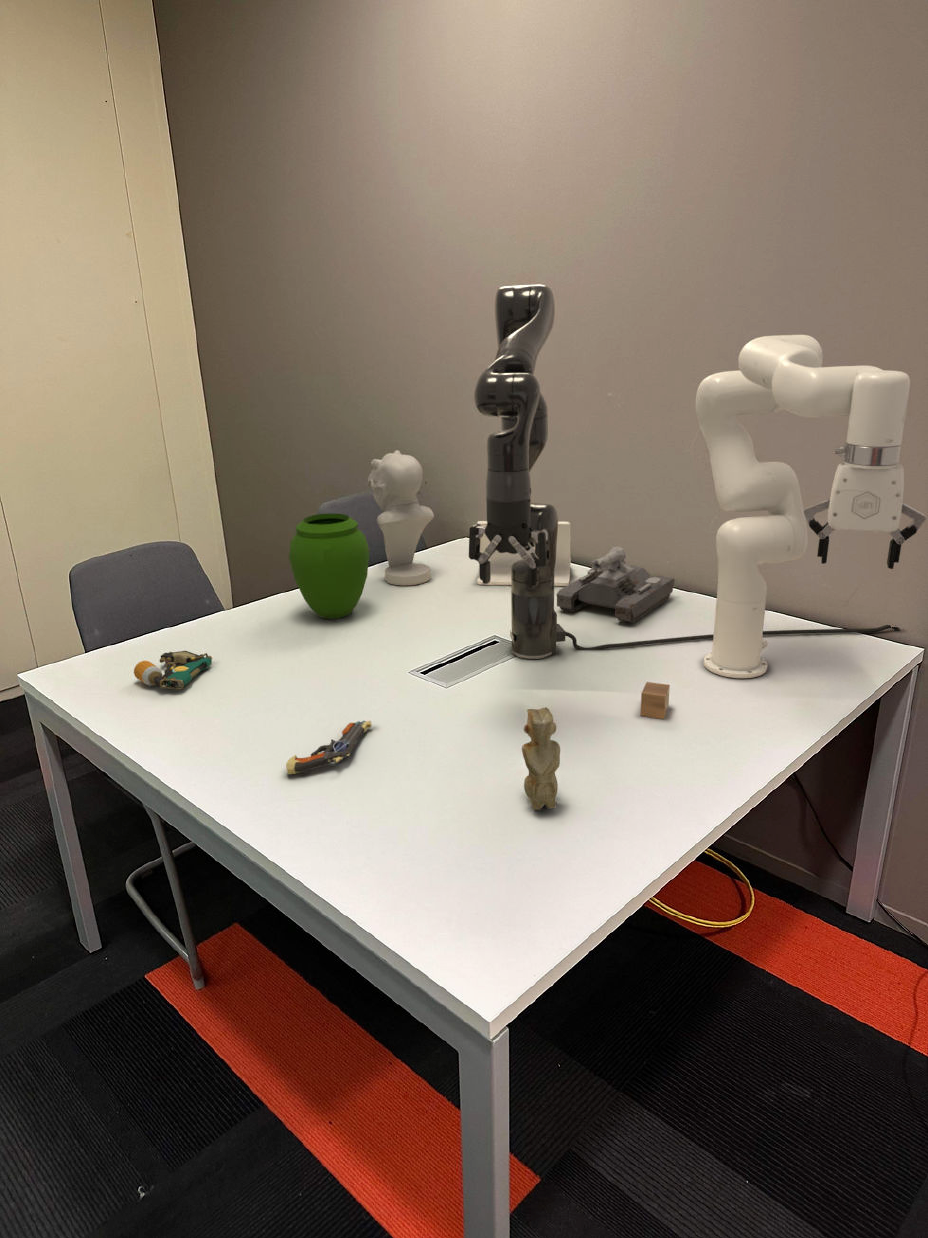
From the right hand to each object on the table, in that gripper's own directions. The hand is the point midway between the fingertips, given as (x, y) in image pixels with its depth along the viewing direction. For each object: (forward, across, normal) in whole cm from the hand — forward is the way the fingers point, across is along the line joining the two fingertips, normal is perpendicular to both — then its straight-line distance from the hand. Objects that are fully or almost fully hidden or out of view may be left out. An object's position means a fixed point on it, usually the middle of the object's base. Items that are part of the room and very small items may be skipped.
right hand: (856, 563), depth 135 cm
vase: (+32, -115, +31) cm, 123 cm away
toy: (+32, -50, +58) cm, 83 cm away
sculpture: (+32, -42, -34) cm, 63 cm away
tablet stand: (+32, -79, +75) cm, 113 cm away
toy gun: (+32, -81, -30) cm, 92 cm away
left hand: (+6, -56, -8) cm, 56 cm away
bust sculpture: (+32, -113, +63) cm, 133 cm away
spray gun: (+32, -128, -13) cm, 133 cm away
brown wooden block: (+32, -30, +2) cm, 44 cm away
